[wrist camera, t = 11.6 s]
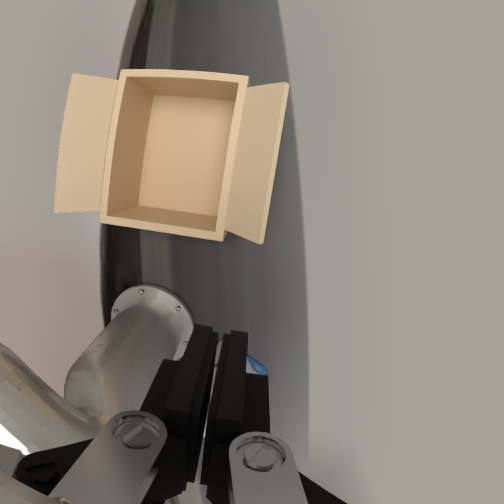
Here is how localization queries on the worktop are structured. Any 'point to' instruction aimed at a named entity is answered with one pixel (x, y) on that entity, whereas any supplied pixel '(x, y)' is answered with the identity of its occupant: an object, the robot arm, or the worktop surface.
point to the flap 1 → (83, 143)
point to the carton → (172, 151)
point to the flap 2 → (256, 160)
